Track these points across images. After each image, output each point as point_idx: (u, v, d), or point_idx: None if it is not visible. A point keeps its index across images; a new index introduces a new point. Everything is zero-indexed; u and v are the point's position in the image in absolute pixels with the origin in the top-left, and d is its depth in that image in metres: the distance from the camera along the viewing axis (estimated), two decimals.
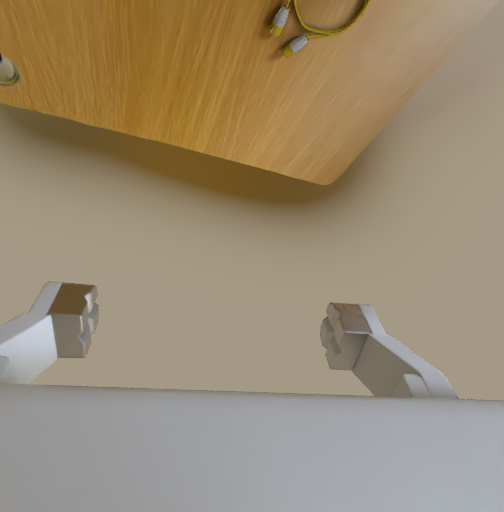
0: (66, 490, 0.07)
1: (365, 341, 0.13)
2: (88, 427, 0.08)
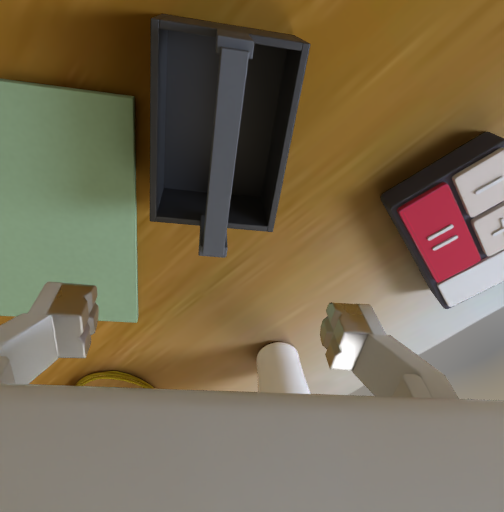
0: (66, 490, 0.07)
1: (365, 341, 0.13)
2: (88, 427, 0.08)
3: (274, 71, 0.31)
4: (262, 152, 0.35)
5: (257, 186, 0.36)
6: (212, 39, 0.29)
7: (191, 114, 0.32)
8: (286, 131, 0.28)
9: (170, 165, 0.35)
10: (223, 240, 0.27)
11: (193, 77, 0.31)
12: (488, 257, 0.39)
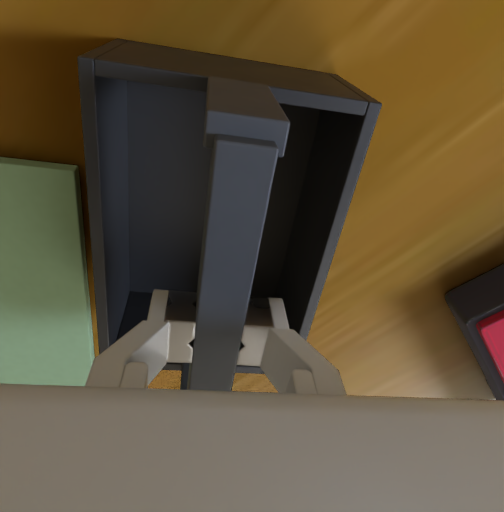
0: (66, 490, 0.07)
1: (267, 336, 0.12)
2: (88, 427, 0.08)
3: (302, 130, 0.19)
4: (278, 243, 0.23)
5: (269, 287, 0.25)
6: None
7: (169, 192, 0.21)
8: (327, 242, 0.17)
9: (139, 262, 0.23)
10: None
11: (171, 139, 0.19)
12: None
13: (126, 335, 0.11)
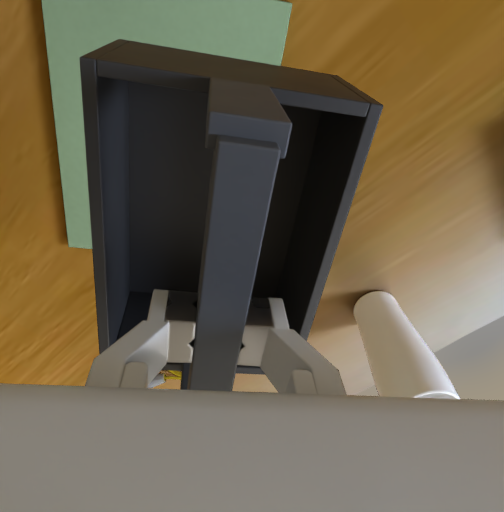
0: (66, 490, 0.07)
1: (267, 336, 0.12)
2: (88, 427, 0.08)
3: (303, 131, 0.19)
4: (279, 244, 0.23)
5: (269, 287, 0.25)
6: None
7: (170, 193, 0.21)
8: (327, 243, 0.17)
9: (139, 262, 0.23)
10: None
11: (172, 139, 0.19)
12: None
13: (126, 335, 0.11)
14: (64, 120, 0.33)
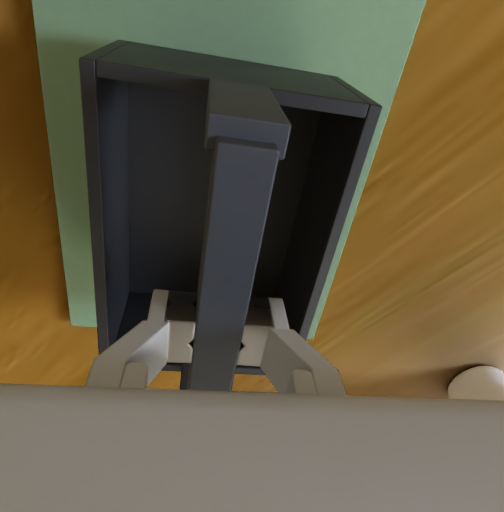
0: (66, 490, 0.07)
1: (267, 336, 0.12)
2: (88, 427, 0.08)
3: (302, 131, 0.19)
4: (278, 244, 0.23)
5: (269, 288, 0.25)
6: None
7: (169, 193, 0.21)
8: (327, 243, 0.17)
9: (139, 263, 0.23)
10: None
11: (172, 140, 0.19)
12: None
13: (126, 335, 0.11)
14: (65, 152, 0.21)
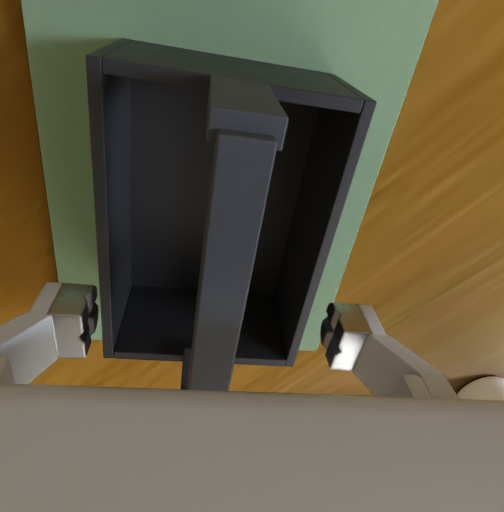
0: (66, 490, 0.07)
1: (365, 341, 0.13)
2: (88, 427, 0.08)
3: (300, 128, 0.20)
4: (277, 238, 0.23)
5: (268, 282, 0.25)
6: None
7: (171, 188, 0.21)
8: (324, 235, 0.17)
9: (141, 256, 0.23)
10: None
11: (173, 136, 0.20)
12: None
13: None
14: (58, 160, 0.20)
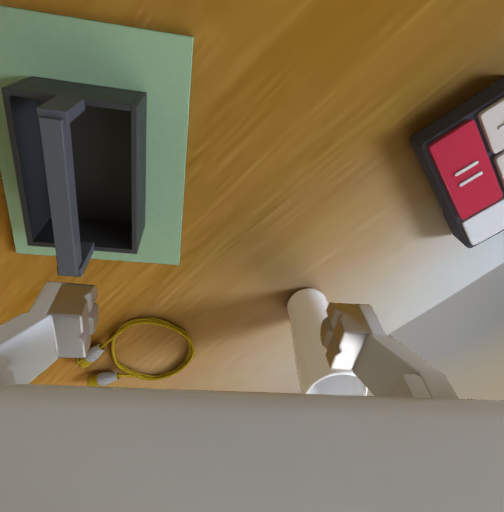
0: (65, 489, 0.07)
1: (365, 341, 0.13)
2: (88, 427, 0.08)
3: None
4: None
5: None
6: None
7: None
8: (131, 173, 0.34)
9: None
10: (73, 263, 0.33)
11: None
12: None
13: None
14: (3, 140, 0.37)
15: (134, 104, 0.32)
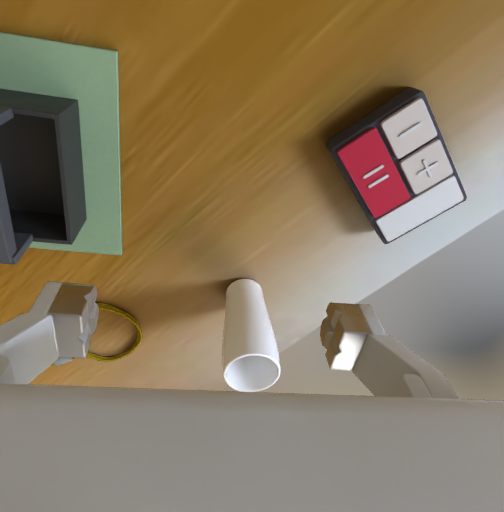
0: (66, 489, 0.07)
1: (365, 341, 0.13)
2: (88, 427, 0.08)
3: None
4: None
5: None
6: None
7: (9, 155, 0.43)
8: (60, 172, 0.39)
9: None
10: (6, 252, 0.37)
11: (4, 129, 0.41)
12: (417, 196, 0.47)
13: None
14: None
15: (58, 112, 0.36)
